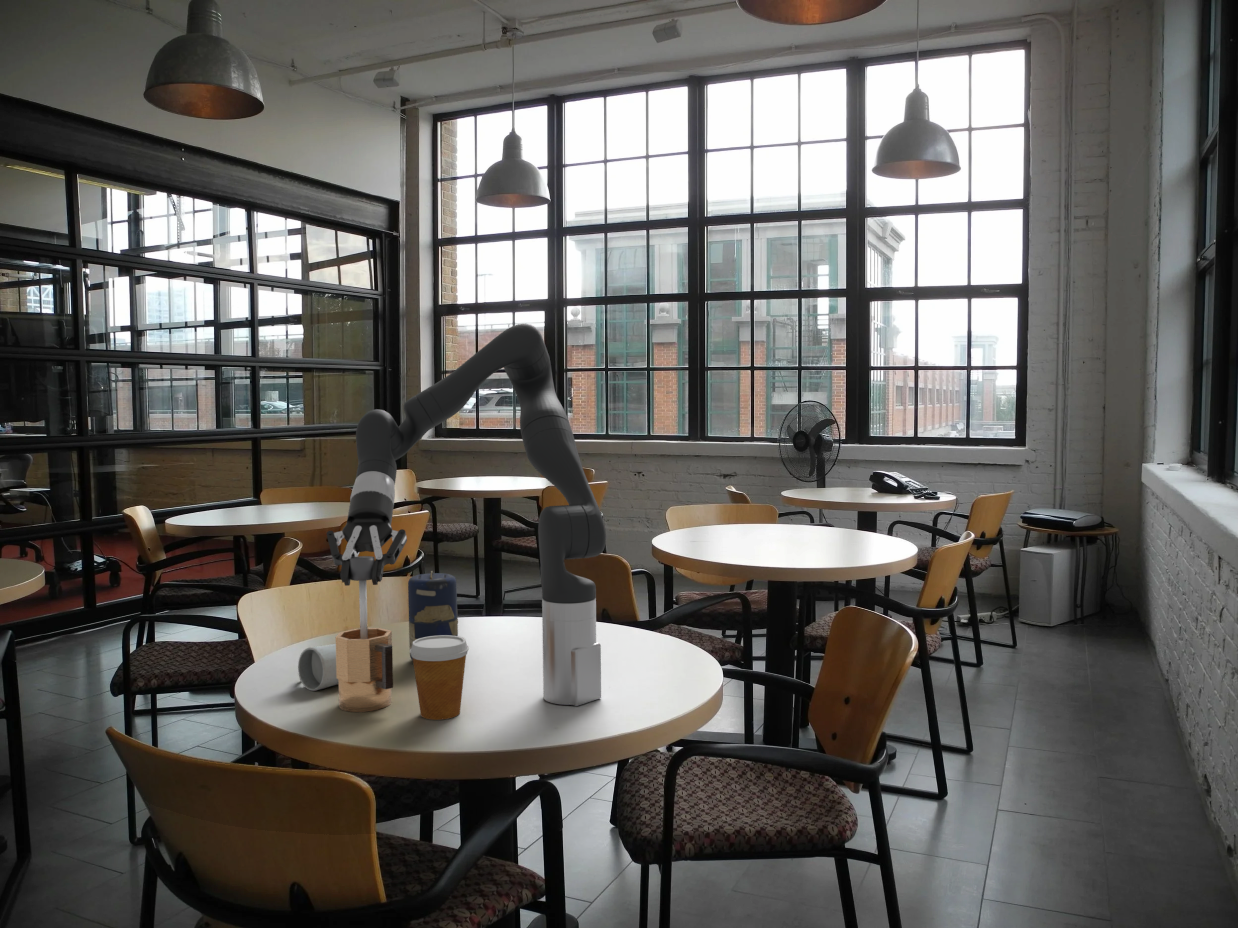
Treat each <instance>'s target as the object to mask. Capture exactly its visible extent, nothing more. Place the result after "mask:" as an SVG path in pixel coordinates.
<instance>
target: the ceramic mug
mask: <svg viewBox="0 0 1238 928" xmlns="http://www.w3.org/2000/svg"><path fill="white" fill-rule="evenodd" d="M297 662H298V663H297V664H298V665H297V669H298V677H299V680H300V682H301V684H302V685H303V687H304V688H306V689H307V690H309V691H312V692H313V691H314V692H316V691H319V690H320V691H321V690H324V689H326V688H327V689H328V688H330V687H335V686H337V685H338V679H337V676H336V643H330V644H325V645H319V646H318V645H317V646H310V647H307V648H305V649H304V650H303V651H302V652H301V653H300V654H299V659H298V661H297ZM338 686H339V685H338Z"/></svg>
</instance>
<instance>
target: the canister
mask: <svg viewBox="0 0 1238 928" xmlns="http://www.w3.org/2000/svg"><path fill="white" fill-rule="evenodd" d="M457 588H458V587H457V578H456V576H454V575H452V574H449V573H441V572H440V573H439V572H438V573H437V572H436V573H435V572H433V570H430V573H421V574H416V575H414V576H411V577H410V578H409V580H408V582H407V593H408V594H407V595H408V599H407V601H408V603H407V604H408V639H409V640H408V641H409V645H408V646H409V650H410V649H411V648H412V644H413V641H415V640H417V639H419V638H423V637H429V636H440V635H451V636H459V629H458V628H459V627H458V626H459V625H458V624H459V618H458V596H457V595H458V589H457ZM409 658H410V659H411V660H412V661H413V658H412V656H411V654H410V653H409Z"/></svg>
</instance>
